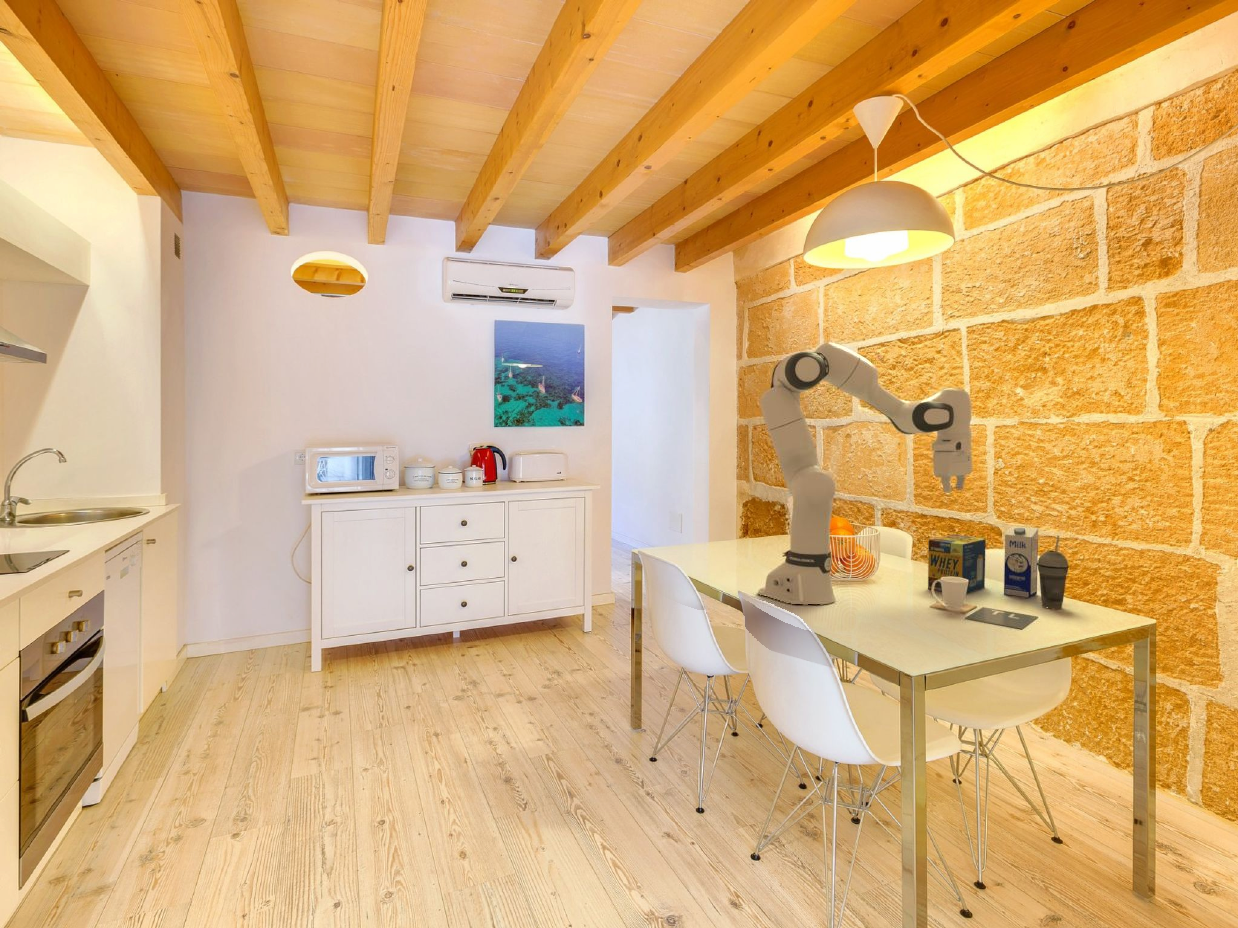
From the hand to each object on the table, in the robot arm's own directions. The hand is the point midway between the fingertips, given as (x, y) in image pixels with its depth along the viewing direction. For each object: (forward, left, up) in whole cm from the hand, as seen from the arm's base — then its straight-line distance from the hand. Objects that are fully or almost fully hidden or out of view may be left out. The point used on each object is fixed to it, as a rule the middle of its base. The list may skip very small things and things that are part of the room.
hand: (953, 491), depth 189 cm
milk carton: (+14, +15, -31) cm, 37 cm away
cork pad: (+5, -13, -31) cm, 34 cm away
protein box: (-2, +10, -31) cm, 33 cm away
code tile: (+17, -15, -31) cm, 38 cm away
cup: (+4, -15, -31) cm, 35 cm away
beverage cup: (+24, +6, -31) cm, 40 cm away
